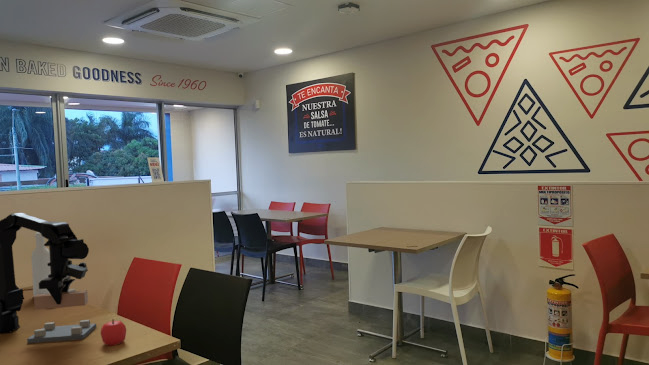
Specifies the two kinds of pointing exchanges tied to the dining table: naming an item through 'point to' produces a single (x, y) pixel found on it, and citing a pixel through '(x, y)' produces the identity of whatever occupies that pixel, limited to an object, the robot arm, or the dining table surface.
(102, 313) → the dining table surface
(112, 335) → the apple
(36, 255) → the bottle
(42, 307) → the clay strip
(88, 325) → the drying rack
